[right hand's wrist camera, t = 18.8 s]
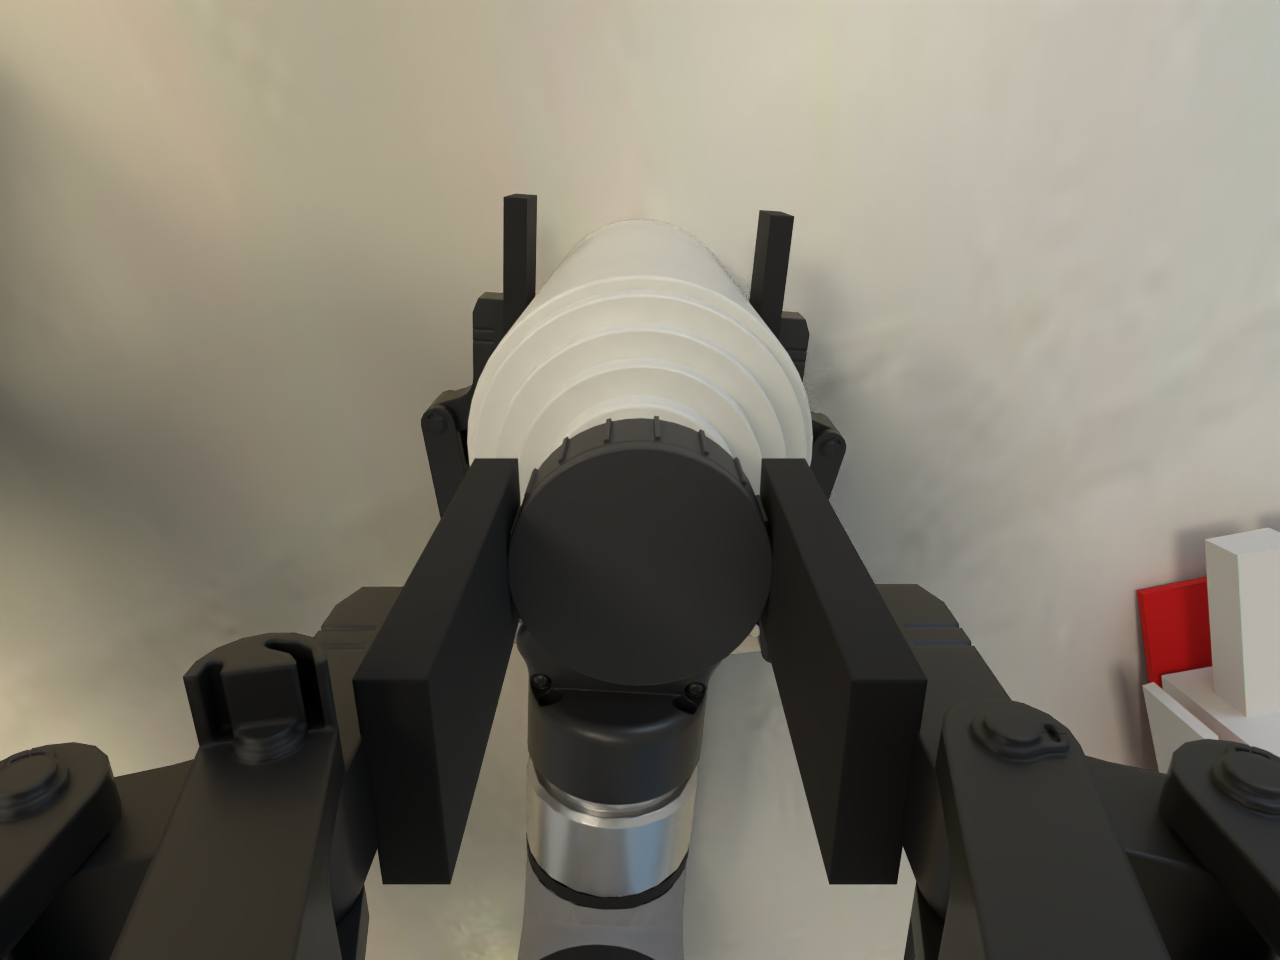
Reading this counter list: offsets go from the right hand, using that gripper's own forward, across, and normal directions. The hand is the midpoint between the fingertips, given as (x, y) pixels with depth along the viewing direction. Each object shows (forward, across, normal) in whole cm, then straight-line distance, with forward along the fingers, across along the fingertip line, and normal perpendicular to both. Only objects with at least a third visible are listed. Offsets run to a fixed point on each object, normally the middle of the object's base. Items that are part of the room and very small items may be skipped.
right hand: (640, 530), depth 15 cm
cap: (-1, 0, 0) cm, 1 cm away
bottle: (+22, 0, 0) cm, 22 cm away
